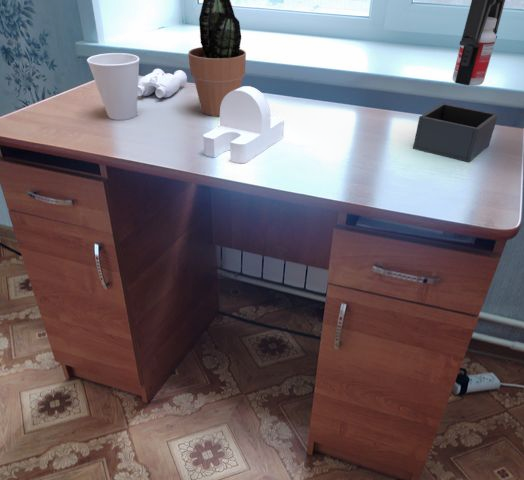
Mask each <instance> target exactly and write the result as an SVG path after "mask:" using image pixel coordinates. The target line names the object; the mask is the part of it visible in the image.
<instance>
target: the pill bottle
mask: <svg viewBox="0 0 524 480" xmlns="http://www.w3.org/2000/svg"><path fill="white" fill-rule="evenodd" d="M496 22H497V19H496V18H493V17H487V20H486V23H485V26H484V29H483V32H482V35H481V38H480V41H479V44H478V46H477V47H479V50H478V54H477V58H476V62H475V66H474V69H473V73H472V77H471V81H470V84H469V85H468V87H469V86H471V87H472V86H480V85H482V84H483V83H484V82H485V79H486V75H487V71H488V68H489V64H490V62H491V57H492V55H493V50H494V47H495V44H496V41H497V39H496V36H497V34H496V35H495V33H494V32H493V29H494V28H495V26H496ZM470 37H471V36H470ZM495 40H496V41H495ZM463 48H464V46H462V45H460V44H459V50H458V53H457V57H456V62H455V66H454V69H453V74H452V81H453V82H454V83H455V81H456V77H457V73H458V68H459V64H460V60H461V56H462V52H463ZM461 85H462V86H465V85H464V84H461Z"/></svg>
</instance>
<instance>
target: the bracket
mask: <svg viewBox="0 0 524 480" xmlns="http://www.w3.org/2000/svg"><path fill="white" fill-rule="evenodd" d="M284 129H285V119H284V118H282V117H278V116H272V117H271V107H270V104H269V102H268V99H267V98H266V96H265V95H264V94H263V93H262V92H261V91H260V90H259V89H257V88H256V87H253V86H250V85H243V86H241V87H240V88H238V89H236V90H234V91H231V92H229V93H228V94H227V95H226V96H225V97H224V99H223V100H222V103H221V106H220V116H219V126H217V127H215V128H213V129H212V130H209V131H208V132H206V133H203V135H202V139H203V155H204V156H205V157H210V158H214V159H216V158H217V157H218V156H220V155H223V153H226V152H230V155H229V157H230V162H232V163H236V164H247V163H249V162H250V161H252V160H253V159H254V158H256V157H258V156H259V155H260V154H262V153H263V152H265V151H266V150H268V149H269V148H271V147H272V146H274V145H275V144H276V143H278V142H279V141H281V140H283V139H284V131H285V130H284Z"/></svg>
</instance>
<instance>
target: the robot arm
mask: <svg viewBox="0 0 524 480" xmlns="http://www.w3.org/2000/svg"><path fill="white" fill-rule="evenodd" d="M505 2H506V0H471V1H470V6H469V9H468V14H467V17H466V21H465V25H464V29H463V32H462V36H461V39H460V41H459V46H460V45H462V46H464V48H463V52H462V56H461V60H460V64H459V68H458V73H457V77H456V81H455V82H454V84H459V85H462V84H464V85H463V86H469V84H470V81H471V77H472V73H473V69H474V66H475V62H476V58H477V54H478V50H479V47H477V46H478V44H479V41H480V38H481V35H482V32H483V29H484V26H485V23H486V20H487V17H493V18H496V19H497V22H496V26H495V28H494V29H493V32H494V33H495V35H496V40H495V42H496V41H497V38H498V35H497V33H498V30H499V25H500V22H501V18H502V14H503V10H504V6H505V4H506V3H505ZM470 36H471V37H470Z"/></svg>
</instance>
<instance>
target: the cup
mask: <svg viewBox="0 0 524 480" xmlns="http://www.w3.org/2000/svg"><path fill="white" fill-rule="evenodd" d="M140 60H141V58H140V57H139V56H138V55H136V54H132V53H126V52H125V53H124V52H123V53H122V52H109V53H99V54H95V55H91V56H89V57H88V58H87V59H86V63H87V65H88V66H89V69H90V71H91V74H92V77H93V79H94V82H95V85H96V88H97V90H98V93H99V95H100V98H101V100H102V101H101V102H102V104H103V106H104V109H105V112H106V115H107V117H108V118H109V119H111V120H114V121H117V120H118V121H126V120H131V119H134V118H136V117H137V112H138V111H137V110H138V96H137V94H138V81H139V75H140V73H139V72H140Z"/></svg>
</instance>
